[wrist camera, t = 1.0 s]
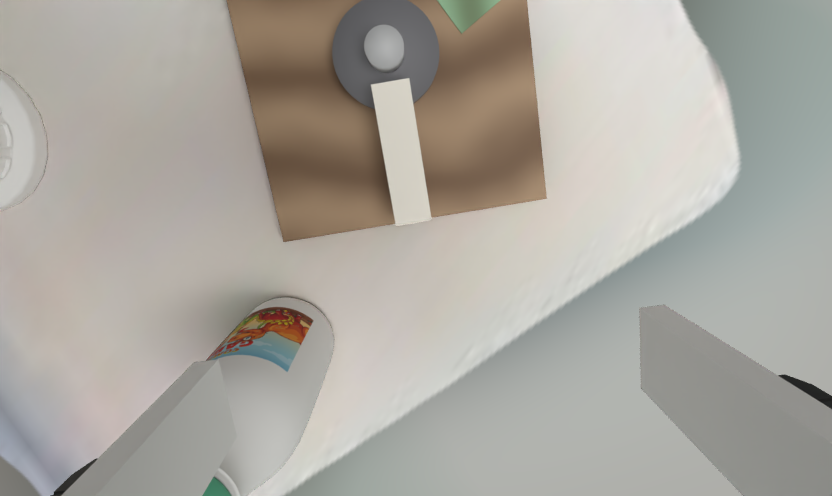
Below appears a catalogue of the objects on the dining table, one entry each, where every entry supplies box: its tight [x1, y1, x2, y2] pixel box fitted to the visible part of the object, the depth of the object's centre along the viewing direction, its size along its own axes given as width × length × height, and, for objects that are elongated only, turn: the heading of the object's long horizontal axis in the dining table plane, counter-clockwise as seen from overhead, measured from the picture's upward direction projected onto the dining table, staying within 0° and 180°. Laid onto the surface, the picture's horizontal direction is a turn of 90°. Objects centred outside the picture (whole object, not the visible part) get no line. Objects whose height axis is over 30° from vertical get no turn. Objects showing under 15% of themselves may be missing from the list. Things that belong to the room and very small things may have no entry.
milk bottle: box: [202, 297, 334, 496], centre depth 29 cm, size 8×8×20 cm
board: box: [227, 0, 547, 242], centre depth 33 cm, size 22×20×2 cm
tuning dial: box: [332, 0, 439, 226], centre depth 30 cm, size 20×7×4 cm, turn 9°
